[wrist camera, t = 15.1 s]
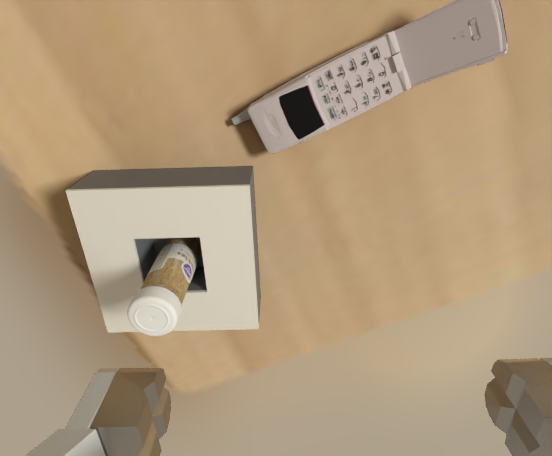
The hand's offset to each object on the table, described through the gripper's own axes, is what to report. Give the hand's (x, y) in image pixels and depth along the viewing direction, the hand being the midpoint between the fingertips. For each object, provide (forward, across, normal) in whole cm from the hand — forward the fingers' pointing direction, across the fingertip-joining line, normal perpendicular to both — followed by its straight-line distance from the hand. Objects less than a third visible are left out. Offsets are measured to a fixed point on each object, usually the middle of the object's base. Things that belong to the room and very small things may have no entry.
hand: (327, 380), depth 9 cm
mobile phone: (+35, -6, -4) cm, 35 cm away
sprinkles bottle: (+33, +13, +14) cm, 38 cm away
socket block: (+34, +13, +14) cm, 39 cm away
